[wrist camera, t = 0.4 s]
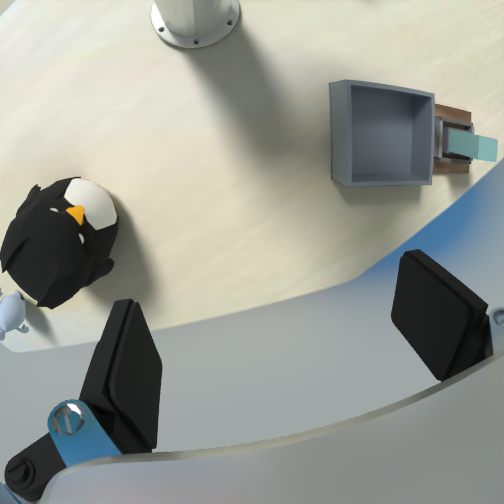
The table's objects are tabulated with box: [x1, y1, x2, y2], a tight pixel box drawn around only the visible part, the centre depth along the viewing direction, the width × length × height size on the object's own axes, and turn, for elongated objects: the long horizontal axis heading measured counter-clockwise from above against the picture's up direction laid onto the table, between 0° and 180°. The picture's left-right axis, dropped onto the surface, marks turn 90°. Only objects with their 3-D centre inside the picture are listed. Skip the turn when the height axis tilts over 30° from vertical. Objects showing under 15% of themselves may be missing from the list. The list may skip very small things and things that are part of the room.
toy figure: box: [0, 288, 29, 341], centre depth 41 cm, size 11×6×12 cm, turn 20°
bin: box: [329, 80, 435, 187], centre depth 41 cm, size 15×16×6 cm
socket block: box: [433, 104, 474, 173], centre depth 44 cm, size 13×13×3 cm
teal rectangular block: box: [442, 127, 498, 162], centre depth 40 cm, size 5×7×10 cm
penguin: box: [0, 177, 118, 310], centre depth 35 cm, size 18×18×17 cm
